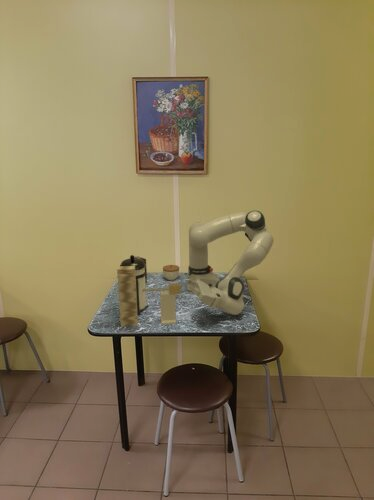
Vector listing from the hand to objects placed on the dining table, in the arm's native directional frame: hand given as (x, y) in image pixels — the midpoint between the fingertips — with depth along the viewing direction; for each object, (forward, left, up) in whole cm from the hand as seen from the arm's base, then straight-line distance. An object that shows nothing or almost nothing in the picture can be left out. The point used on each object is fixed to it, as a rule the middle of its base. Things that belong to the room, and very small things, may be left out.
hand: (189, 284), depth 172 cm
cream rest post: (+11, 0, -18) cm, 21 cm away
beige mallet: (+14, 0, -4) cm, 14 cm away
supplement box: (+25, -54, -19) cm, 62 cm away
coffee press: (+27, -13, -19) cm, 36 cm away
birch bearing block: (+30, 0, -18) cm, 35 cm away
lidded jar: (+5, -57, -19) cm, 60 cm away
